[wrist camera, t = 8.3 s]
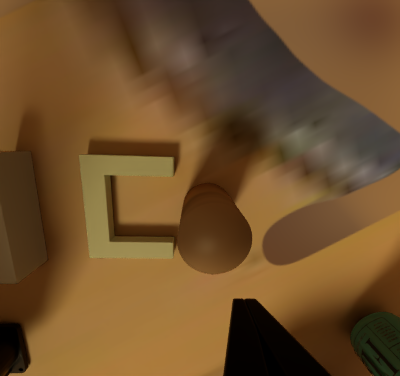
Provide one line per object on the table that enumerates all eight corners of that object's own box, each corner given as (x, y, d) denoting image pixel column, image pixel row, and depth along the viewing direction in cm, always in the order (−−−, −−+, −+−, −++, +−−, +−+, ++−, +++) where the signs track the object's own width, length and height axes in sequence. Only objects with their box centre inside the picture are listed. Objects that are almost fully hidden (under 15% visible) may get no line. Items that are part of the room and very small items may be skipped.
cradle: (174, 251, 20) (173, 258, 19) (95, 251, 19) (89, 257, 18) (174, 156, 18) (173, 157, 16) (86, 154, 17) (78, 154, 16)
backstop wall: (47, 259, 20) (17, 283, 16) (33, 259, 19) (-1, 283, 16) (30, 151, 17) (-10, 152, 14) (14, 150, 17) (-31, 151, 14)
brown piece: (229, 229, 20) (248, 274, 13) (182, 228, 19) (176, 273, 12) (232, 183, 18) (255, 205, 12) (183, 182, 18) (177, 204, 11)
